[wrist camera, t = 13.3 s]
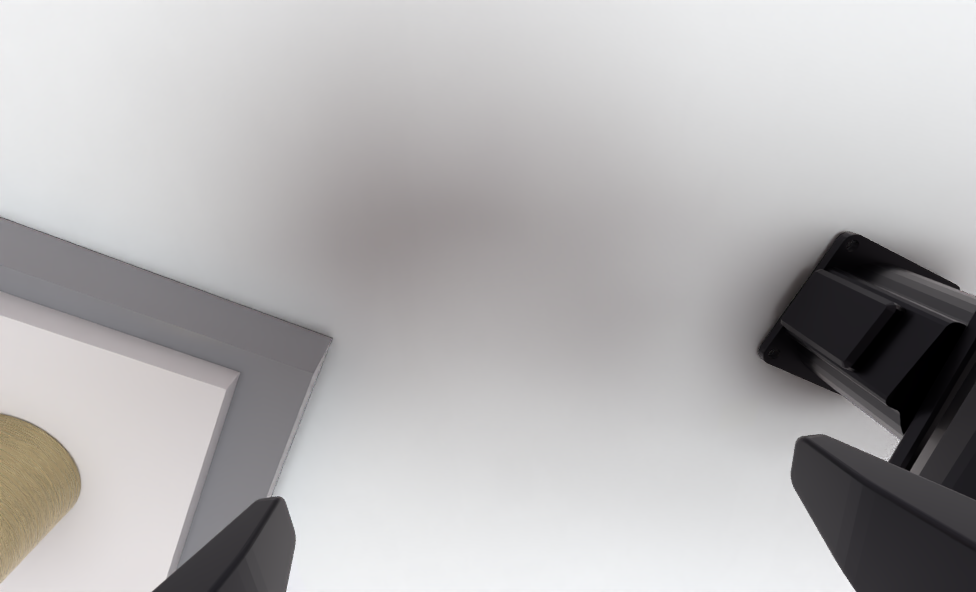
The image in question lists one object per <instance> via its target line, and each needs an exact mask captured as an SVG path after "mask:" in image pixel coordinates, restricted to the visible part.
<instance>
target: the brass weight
mask: <svg viewBox="0 0 976 592" xmlns="http://www.w3.org/2000/svg"><path fill="white" fill-rule="evenodd" d="M79 494H80V476H79V473H78V470H77V467H76V465H75V463H74V461H73V460H72V458H71V457H70V455H69V454H68V452H67V451H66V450H65V449H64V448H63V447H62V446H61V445H60V444H59V443H58V442H57V441H56V440H55V439H53V438H52V437H51V436H49V435H48V434H47V433H45V432H44V431H42V430H40V429H39V428H37V427H35V426H33V425H31V424H29V423H27V422H25V421H22V420H19V419H17V418H13V417H10V416H6V415H2V414H0V584H1V583H2V582H3V581H4V580H5V579H6V577H7V576H8V575H9V574H10V573H11V572H12V571H13V570H14V569H15V568H16V567H17V566H18V565H19V564H20V563H21V562H22V560H23V559H24V558H25V557H26V556H27V555H28V554H29V553H30V552H31V551H32V550H33V549H34V548H35V547H36V546H37V545H38V544H39V542H40V541H41V540H42V539H43V538H44V537H45V536H46V535H47V534H48V533H49V532H50V531H51V530H52V529H53V528H54V527H55V526H56V524H57V523H58V522H59V521H60V520H61V519H62V518H63V517H64V516H65V515H66V514H67V513H68V512H69V511H70V510H71V509H72V508H73V506H74V505H75V503H76V502H77V499H78V497H79Z"/></svg>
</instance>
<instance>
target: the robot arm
mask: <svg viewBox="0 0 976 592" xmlns="http://www.w3.org/2000/svg"><path fill="white" fill-rule="evenodd" d="M850 241H852V243H851V246H850V247H849V248H847V244H848V243H849V242H850ZM774 349H775V350H774ZM771 350H774V352H773V353H772V354H770V355H769V352H770V351H771ZM758 354H759V356H760V357H761V358H762V359H763V360H764V361H765V362H767V363H768V364H771V365H773V366H775V367H778V368H780V369H782V370H784V371H787V372H789V373H791V374H794V375H796V376H798V377H801V378H803V379H805V380H808V381H810V382H812V383H815V384H817V385H819V386H822V387H824V388H826V389H829V390H831V391H833V392H836V393H838V394H840V395H842V396H844V397H845V398H847V399H848V400H849V401H850V402H852V403H853V404H854V405H856V406H857V407H858V408H860V409H861V410H862V411H863V412H865V413H866V414H867V415H869V416H870V417H871V418H873V419H874V420H875V421H876V422H878V423H879V424H880V425H882V426H883V427H884V428H886V429H887V430H888V431H889V432H891V433H892V434H893V435H895V436H896V437H897V438H899V439H900V442H899V444H898V446H897V447H896V449H895V451H894V453H893V454H892V456H891V458H890V460H889V461H888V462H887V461H884V460H882V459H880V458H877V457H875V456H873V455H871V454H868V453H866V452H864V451H861V450H859V449H857V448H854V447H852V446H850V445H848V444H845V443H843V442H841V441H838V440H836V439H834V438H831V437H829V436H827V435H823V434H817V435H808V436H802V437H799V438H798V439H797V441H796V443H795V449H794V455H793V461H792V468H791V480H792V484H793V487H794V489H795V491H796V492H797V494H798V496H799V498H800V499H801V501H802V503H803V504H804V506H805V508H806V510H807V511H808V513H809V515H810V517H811V518H812V520H813V522H814V524H815V525H816V527H817V529H818V531H819V532H820V534H821V536H822V538H823V539H824V541H825V543H826V545H827V546H828V548H829V550H830V552H831V553H832V555H833V557H834V558H835V560H836V562H837V563H838V565H839V567H840V568H841V570H842V571H843V573H844V574H845V576H846V577H847V579H848V580H849V582H850V583H851V585H852V586H853V588H854V589H855V591H856V592H976V296H974V295H971V294H968V293H966V292H963V291H960V288H959V287H958V286H957V285H956V284H954V283H952V282H950V281H948V280H946V279H944V278H942V277H940V276H938V275H937V274H935V273H933V272H931V271H929V270H927V269H925V268H923V267H921V266H919V265H917V264H915V263H913V262H911V261H910V260H908V259H906V258H904V257H902V256H900V255H898V254H896V253H894V252H892V251H890V250H888V249H886V248H884V247H883V246H881V245H879V244H877V243H875V242H873V241H871V240H869V239H867V238H865V237H863V236H861V235H859V234H856V233H853V232H845V233H843V234H841V235H840V236H839V237H838V238H837V239H836V240H835V242H834V243H833V245H832V246H831V247H830V249H829V250H828V252H827V253H826V254H825V256H824V257H823V259H822V260H821V261H820V263H819V264H818V266H817V267H816V269H815V270H814V271H813V273H812V274H811V276H810V277H809V278H808V280H807V281H806V283H805V284H804V285H803V287H802V288H801V290H800V291H799V292H798V294H797V295H796V297H795V298H794V299H793V301H792V302H791V304H790V305H789V307H788V308H787V309H786V311H785V312H784V314H783V315H782V316H781V318H780V319H779V321H778V322H777V323H776V325H775V326H774V328H773V329H772V330H771V332H770V333H769V335H768V336H767V337H766V339H765V340H764V342H763V343H762V344H761V346H760V348H759V350H758ZM295 541H296V537H295V530H294V527H293V524H292V521H291V517H290V514H289V511H288V508H287V505H286V502H285V500H284V499H283V498H282V497H279V496H277V497H269V498H261V499H258V500H256V501H255V502H253V503H252V504H251V505H250V506H249V507H248V508H246V509H245V510H244V511H243V512H242V513H241V514H240V515H238V516H237V517H236V518H235V519H234V520H233V521H232V522H230V523H229V524H228V525H227V526H226V527H225V528H224V529H223V530H221V531H220V532H219V533H218V534H217V535H216V536H215V537H213V538H212V539H211V540H210V541H209V542H208V543H207V544H205V545H204V546H203V547H202V548H201V549H200V550H199V551H197V552H196V553H195V554H194V555H193V556H192V557H191V558H189V559H188V560H187V561H186V562H185V563H184V564H183V565H181V566H180V567H179V568H178V569H177V570H176V571H175V572H173V573H172V574H171V575H170V576H169V577H168V578H167V579H166V580H164V581H163V582H162V583H161V584H160V585H159V586H158V587H156V588H155V589H154V590H153V591H152V592H286V589H287V584H288V579H289V574H290V569H291V564H292V559H293V554H294V549H295Z"/></svg>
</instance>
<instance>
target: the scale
mask: <svg viewBox="0 0 976 592" xmlns="http://www.w3.org/2000/svg"><path fill="white" fill-rule="evenodd" d="M331 341H332V338H330V337H327V336H325V335H322V334H319V333H316V332H314V331H311V330H308V329H305V328H303V327H300V326H297V325H294V324H292V323H289V322H286V321H283V320H281V319H278V318H275V317H272V316H270V315H267V314H264V313H261V312H259V311H256V310H253V309H250V308H248V307H245V306H242V305H240V304H237V303H234V302H231V301H229V300H226V299H223V298H220V297H218V296H215V295H212V294H209V293H207V292H204V291H201V290H198V289H196V288H193V287H190V286H187V285H185V284H182V283H179V282H176V281H174V280H171V279H168V278H165V277H163V276H160V275H157V274H155V273H152V272H149V271H146V270H144V269H141V268H138V267H135V266H133V265H130V264H127V263H124V262H122V261H119V260H116V259H113V258H111V257H108V256H105V255H102V254H100V253H97V252H94V251H91V250H89V249H86V248H83V247H80V246H78V245H75V244H72V243H70V242H67V241H64V240H61V239H59V238H56V237H53V236H50V235H48V234H45V233H42V232H39V231H37V230H34V229H31V228H28V227H26V226H23V225H20V224H17V223H15V222H12V221H9V220H6V219H4V218H1V217H0V414H2V415H6V416H10V417H13V418H17V419H19V420H22V421H25V422H27V423H29V424H31V425H33V426H35V427H37V428H39V429H40V430H42V431H44V432H45V433H47V434H48V435H49V436H51V437H52V438H53V439H55V440H56V441H57V442H58V443H59V444H60V445H61V446H62V447H63V448H64V449H65V450H66V451H67V452H68V454H69V455H70V457H71V458H72V460H73V461H74V463H75V465H76V467H77V470H78V473H79V476H80V494H79V497H78V499H77V502H76V503H75V505H74V506H73V508H72V509H71V510H70V511H69V512H68V513H67V514H66V515H65V516H64V517H63V518H62V519H61V520H60V521H59V522H58V523H57V524H56V526H55V527H54V528H53V529H52V530H51V531H50V532H49V533H48V534H47V535H46V536H45V537H44V538H43V539H42V540H41V541H40V542H39V544H38V545H37V546H36V547H35V548H34V549H33V550H32V551H31V552H30V553H29V554H28V555H27V556H26V557H25V558H24V559H23V560H22V562H21V563H20V564H19V565H18V566H17V567H16V568H15V569H14V570H13V571H12V572H11V573H10V574H9V575H8V576H7V577H6V579H5V580H4V581H3V582H2V583H1V584H0V592H152V591H153V590H154V589H155V588H156V587H158V586H159V585H160V584H161V583H162V582H163V581H164V580H166V579H167V578H168V577H169V576H170V575H171V574H172V573H173V572H175V571H176V570H177V569H178V568H179V567H180V566H181V565H183V564H184V563H185V562H186V561H187V560H188V559H189V558H191V557H192V556H193V555H194V554H195V553H196V552H197V551H199V550H200V549H201V548H202V547H203V546H204V545H205V544H207V543H208V542H209V541H210V540H211V539H212V538H213V537H215V536H216V535H217V534H218V533H219V532H220V531H221V530H223V529H224V528H225V527H226V526H227V525H228V524H229V523H230V522H232V521H233V520H234V519H235V518H236V517H237V516H238V515H240V514H241V513H242V512H243V511H244V510H245V509H246V508H248V507H249V506H250V505H251V504H252V503H253V502H255V501H256V500H258V499H261V498H269V497H271V496H272V493H273V491H274V488H275V486H276V483H277V481H278V478H279V475H280V473H281V470H282V468H283V465H284V462H285V460H286V457H287V455H288V452H289V449H290V447H291V444H292V442H293V439H294V436H295V434H296V431H297V429H298V426H299V424H300V421H301V418H302V416H303V413H304V411H305V408H306V405H307V403H308V400H309V398H310V395H311V392H312V390H313V387H314V385H315V382H316V379H317V377H318V374H319V372H320V369H321V367H322V364H323V361H324V359H325V356H326V354H327V351H328V348H329V346H330V343H331Z"/></svg>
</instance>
